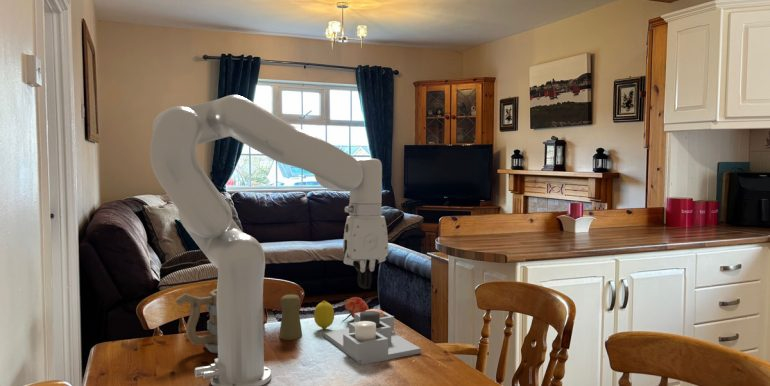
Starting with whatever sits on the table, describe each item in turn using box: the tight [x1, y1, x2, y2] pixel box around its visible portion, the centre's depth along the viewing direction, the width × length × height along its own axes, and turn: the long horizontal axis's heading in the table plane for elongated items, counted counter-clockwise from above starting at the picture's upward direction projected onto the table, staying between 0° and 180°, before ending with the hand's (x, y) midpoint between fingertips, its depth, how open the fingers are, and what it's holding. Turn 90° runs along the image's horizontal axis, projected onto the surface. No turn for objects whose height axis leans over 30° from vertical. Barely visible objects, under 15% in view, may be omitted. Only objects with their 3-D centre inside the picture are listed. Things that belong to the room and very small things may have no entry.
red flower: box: [341, 296, 370, 323], centre depth 164 cm, size 7×7×10 cm
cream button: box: [355, 321, 376, 342], centre depth 135 cm, size 5×5×4 cm
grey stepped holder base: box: [322, 310, 422, 366], centre depth 144 cm, size 18×23×5 cm
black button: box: [360, 311, 380, 328], centre depth 144 cm, size 5×5×4 cm
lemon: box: [313, 300, 335, 330], centre depth 156 cm, size 6×6×8 cm
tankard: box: [175, 288, 218, 354], centre depth 141 cm, size 20×13×15 cm, turn 122°
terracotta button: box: [366, 308, 383, 318], centre depth 153 cm, size 5×5×4 cm
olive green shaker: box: [278, 294, 303, 341], centre depth 150 cm, size 6×6×11 cm
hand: (364, 287), depth 135 cm, fingers closed
